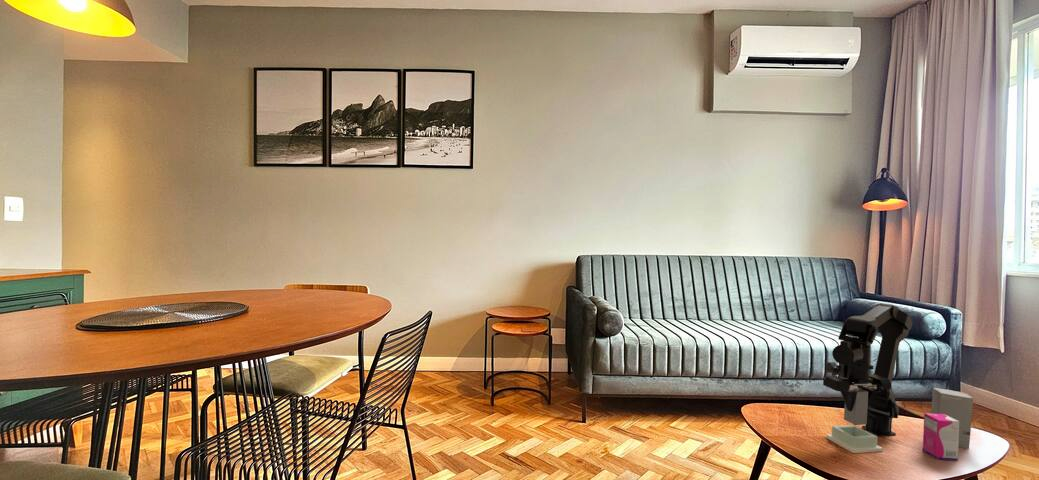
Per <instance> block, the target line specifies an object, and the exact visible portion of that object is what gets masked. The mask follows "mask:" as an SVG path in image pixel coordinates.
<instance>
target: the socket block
mask: <svg viewBox="0 0 1039 480" xmlns="http://www.w3.org/2000/svg"><path fill="white" fill-rule="evenodd" d="M878 437H879V436H878V435H876V434H874V433H872V432H870V431H868V430H866V429H864V428H862V427H859V426H858V425H854V424H852V425H835V426H832V427H831V433H829V434H826V435H825V438H826V439H827V440H829V441H831V442H833V443H835V444H837V445H838V446H840V447H842V448H843V449H845V450H847V451H848V452H850V453H853V454H860V453H877V452H883V451H884V448H883V447H882V446H880V445H878Z"/></svg>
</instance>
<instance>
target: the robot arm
mask: <svg viewBox="0 0 1039 480" xmlns="http://www.w3.org/2000/svg"><path fill="white" fill-rule="evenodd" d="M912 327H913V320H912V318H911V317H910V316H909V314H908V313H906V312H904V311H902V310H900V309H899V308H898V306H897V305H894V304H890V303H881V302H880V303H876V304H875V307H873V308H871V309H870V310H869V311H867V312H866V313H864V314H863V315H853V316H850V317H847V319H846V320H844V322H843V325H842V328H841V331H840V332H839V336H838V340H839V341H840V343H839V344H838V345H836V346H835V347H834V348H833V349H832V352H831V353H832V358H833V359H834V361H835V362H826V365H825V369H826V372H827V373H829V374H831V376H830V375H828V376H825V377H823V379H822V380H823V386H825V387H827V388H829V389H831V390H834V391H836V392H840V394H841V395H842V398H843V401H844V405H845V404H846V407H847V410H848V411H852V409H853V406H854V402H855V399H856V396H857V392H856V391H854V387H858V388H861V389H863V390H865V391H868V408H867V424H865V425H861V429H863V430H865V431H867V432H869V433H871V434H873V435H875V436H877V437H884V436H885V437H886V436H897V435H896V432H894V431H892V427H893V426H892V425H893V423H892V422H893V419H898V418H899V415H900V414H899V413H900V408H899V406H898V404H897V402H896V400H895V397H896V395H895V392H894V390H893V388H892V381H893V380H892V379H893V376H894V371H895V367H896V362H897V356H898V353H899V348H900V343H901V342H902V341H903V340H905V338H907V337H908V335H909V332H910V331H911V330H912ZM878 332H879V333H880V335H881V341H880V345H879V350H878V354H877V359H876V363H875V368H874V365H873V364H871V351H872V345H873V343H874V341H875V339H876V338H877V337H876V336H877V335H878ZM837 364H838V365H837ZM870 370H874V372H873V374H870ZM839 376H840V377H839Z"/></svg>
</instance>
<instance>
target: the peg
mask: <svg viewBox="0 0 1039 480" xmlns="http://www.w3.org/2000/svg"><path fill="white" fill-rule="evenodd" d="M854 391H856V392H857V396H856V399H855V402H854V406H853V409H852V411H848V410H847V407H846V404H845V403H844V409H843V410H844V411H843V412H844V413H843V420H844V421H845V422H848V423H850V424H852V425H855V426H866V424H867V408H868V391H865V390H863V389H861V388H858V387H857V386H854Z"/></svg>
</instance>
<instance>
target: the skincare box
mask: <svg viewBox="0 0 1039 480" xmlns="http://www.w3.org/2000/svg"><path fill="white" fill-rule="evenodd" d="M930 407H931V410H930V413H932V414H945V415H947V416H949V417H951V418H953V419H955V420H957V421H959V442H958V448H964V449H968V450H969V449H970V441H971V432H972V431H971V430H972V419H973V409H974V408H973V407H974V398H973V397H972V396H970V395H969V394H967V393H966V392H964V391H963V392H962V391H956V390H951V389H945V388H939V387H932V397H931V406H930Z"/></svg>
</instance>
